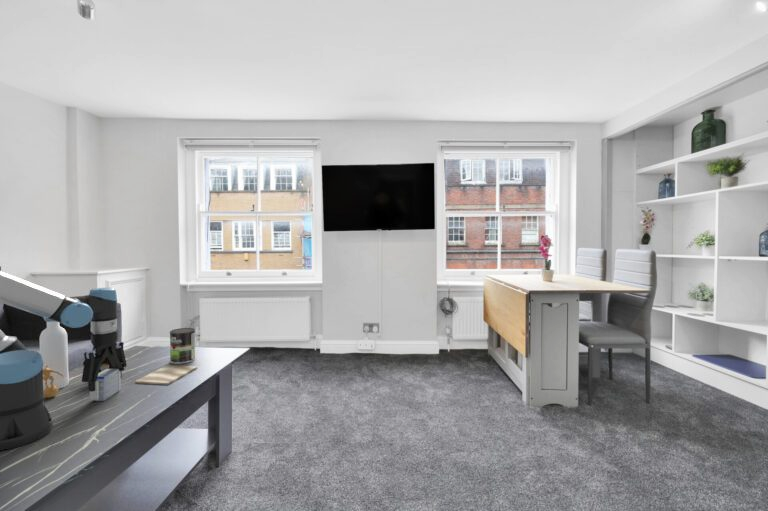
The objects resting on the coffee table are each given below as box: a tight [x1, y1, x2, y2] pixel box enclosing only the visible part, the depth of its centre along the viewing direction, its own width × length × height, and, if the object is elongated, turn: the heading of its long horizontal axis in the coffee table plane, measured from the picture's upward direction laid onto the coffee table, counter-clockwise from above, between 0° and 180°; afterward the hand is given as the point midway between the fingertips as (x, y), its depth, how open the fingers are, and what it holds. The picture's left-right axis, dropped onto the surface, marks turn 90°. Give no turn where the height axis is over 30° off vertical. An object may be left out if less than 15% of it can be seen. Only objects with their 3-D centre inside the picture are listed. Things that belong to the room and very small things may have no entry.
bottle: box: [38, 321, 70, 391], centre depth 136 cm, size 8×8×30 cm
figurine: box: [43, 365, 63, 399], centre depth 126 cm, size 8×6×12 cm
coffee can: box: [169, 327, 196, 365], centre depth 167 cm, size 10×10×14 cm
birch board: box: [134, 364, 198, 386], centre depth 149 cm, size 18×14×1 cm
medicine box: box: [91, 369, 120, 402], centre depth 129 cm, size 8×4×9 cm, turn 6°
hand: (106, 393), depth 129 cm, fingers closed on medicine box, 8 cm apart
